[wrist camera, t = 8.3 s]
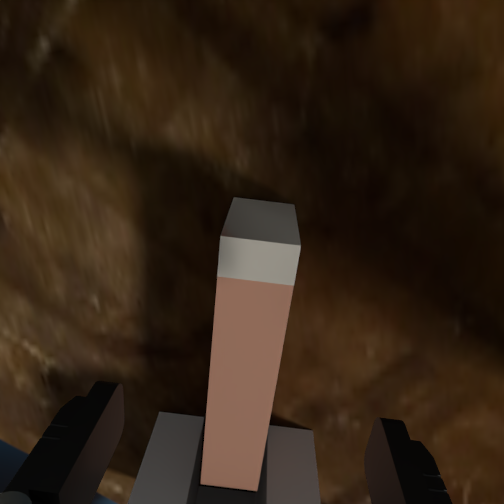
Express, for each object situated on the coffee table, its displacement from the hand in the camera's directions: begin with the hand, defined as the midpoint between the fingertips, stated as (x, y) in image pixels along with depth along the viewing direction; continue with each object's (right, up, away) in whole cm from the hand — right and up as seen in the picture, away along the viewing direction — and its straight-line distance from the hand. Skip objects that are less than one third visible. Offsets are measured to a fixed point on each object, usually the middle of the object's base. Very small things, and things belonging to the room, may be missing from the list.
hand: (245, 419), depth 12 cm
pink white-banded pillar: (0, +1, +13) cm, 13 cm away
